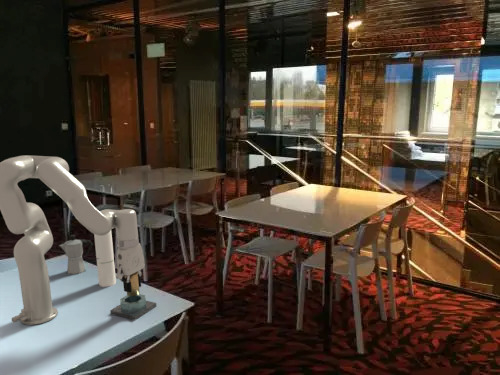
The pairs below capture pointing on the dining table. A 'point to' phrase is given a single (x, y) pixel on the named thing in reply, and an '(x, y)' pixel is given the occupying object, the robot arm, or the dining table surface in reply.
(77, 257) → the coffee maker
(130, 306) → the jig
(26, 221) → the robot arm
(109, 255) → the cylindrical container
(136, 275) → the gold round-topped cylinder
